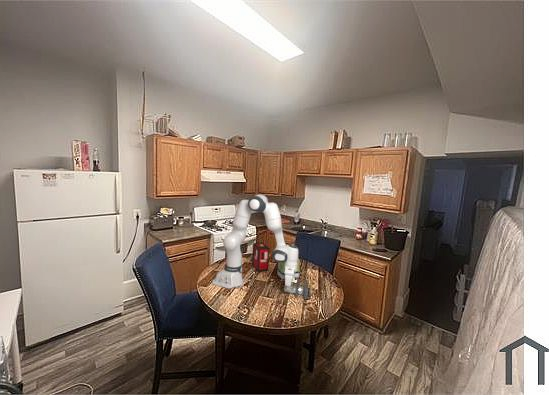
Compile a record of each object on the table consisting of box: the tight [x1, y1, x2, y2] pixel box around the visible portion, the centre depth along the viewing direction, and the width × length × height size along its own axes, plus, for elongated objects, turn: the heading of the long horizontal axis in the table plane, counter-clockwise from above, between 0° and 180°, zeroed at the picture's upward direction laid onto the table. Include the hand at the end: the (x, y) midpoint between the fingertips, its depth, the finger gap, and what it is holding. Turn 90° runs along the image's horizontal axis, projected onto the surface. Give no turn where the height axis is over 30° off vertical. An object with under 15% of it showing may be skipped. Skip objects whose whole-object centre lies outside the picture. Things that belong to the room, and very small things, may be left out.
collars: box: [294, 279, 313, 299], centre depth 156 cm, size 11×10×9 cm
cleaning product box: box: [251, 241, 270, 273], centre depth 195 cm, size 16×9×20 cm, turn 25°
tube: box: [283, 284, 312, 297], centre depth 156 cm, size 18×5×5 cm, turn 79°
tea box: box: [276, 258, 301, 280], centre depth 182 cm, size 15×10×15 cm
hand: (289, 286), depth 157 cm, fingers open, 8 cm apart
